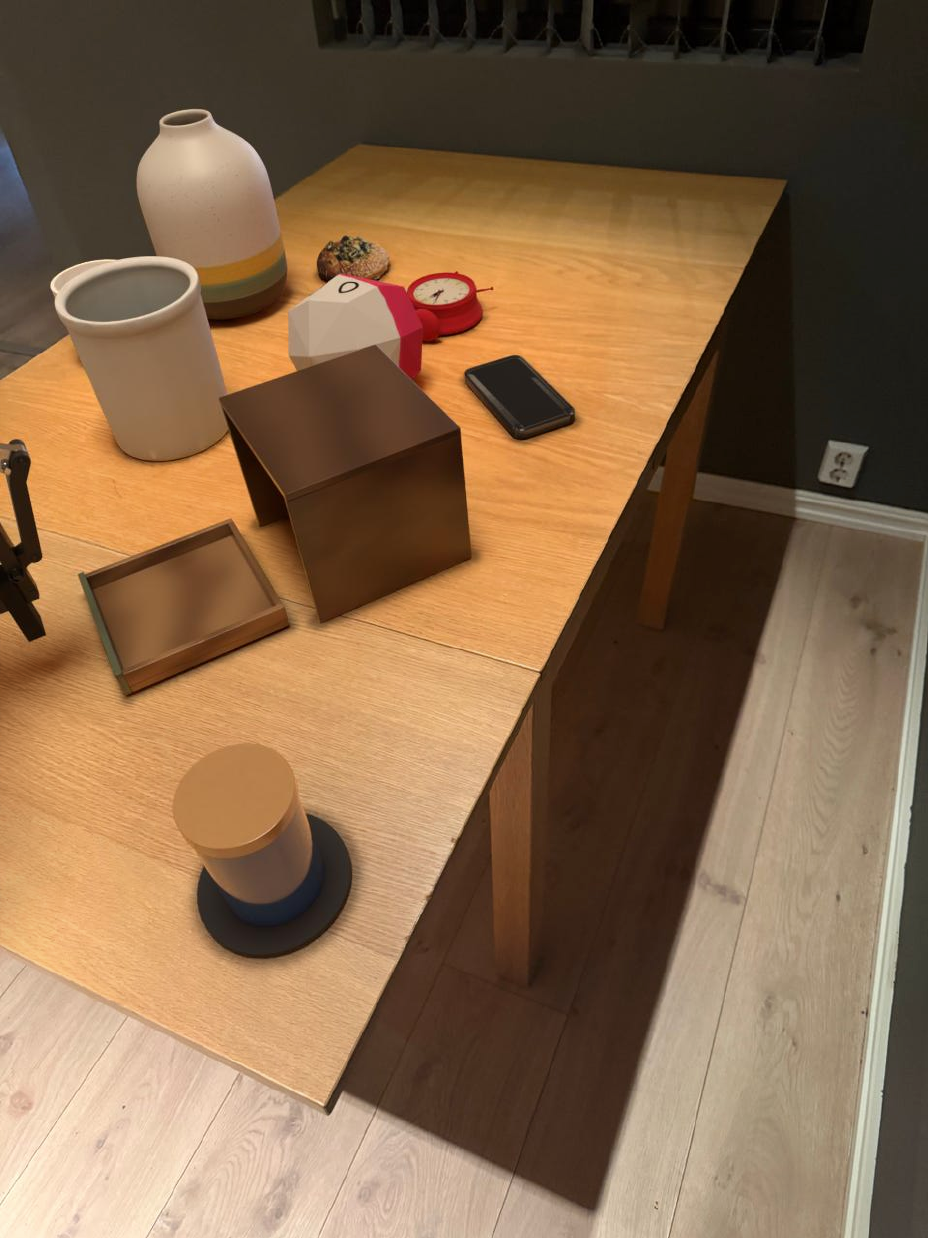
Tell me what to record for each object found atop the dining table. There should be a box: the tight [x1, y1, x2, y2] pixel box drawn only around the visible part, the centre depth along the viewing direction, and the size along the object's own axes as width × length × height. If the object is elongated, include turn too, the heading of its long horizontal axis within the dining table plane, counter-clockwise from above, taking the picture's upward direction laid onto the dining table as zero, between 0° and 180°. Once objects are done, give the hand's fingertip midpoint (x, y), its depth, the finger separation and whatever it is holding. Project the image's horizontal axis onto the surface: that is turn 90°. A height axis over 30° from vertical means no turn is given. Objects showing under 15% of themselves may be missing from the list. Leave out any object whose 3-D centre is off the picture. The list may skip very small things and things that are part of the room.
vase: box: [136, 108, 288, 321], centre depth 117 cm, size 17×17×24 cm
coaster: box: [196, 812, 353, 959], centre depth 63 cm, size 11×11×1 cm
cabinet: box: [219, 345, 473, 624], centre depth 83 cm, size 16×17×15 cm
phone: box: [463, 354, 576, 440], centre depth 103 cm, size 8×1×15 cm
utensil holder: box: [54, 255, 229, 462], centre depth 98 cm, size 15×15×18 cm
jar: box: [172, 743, 324, 927], centre depth 59 cm, size 8×8×11 cm
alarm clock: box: [406, 271, 494, 342], centre depth 116 cm, size 10×6×15 cm
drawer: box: [77, 517, 291, 696], centre depth 82 cm, size 15×15×3 cm
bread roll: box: [316, 234, 390, 282], centre depth 129 cm, size 11×11×5 cm
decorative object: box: [287, 273, 423, 380], centre depth 102 cm, size 15×15×15 cm
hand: (34, 628), depth 76 cm, fingers closed
